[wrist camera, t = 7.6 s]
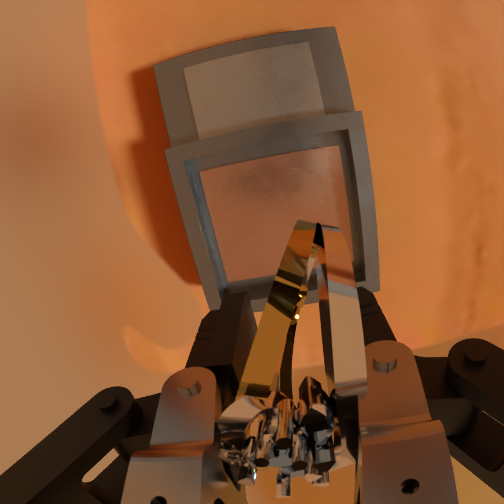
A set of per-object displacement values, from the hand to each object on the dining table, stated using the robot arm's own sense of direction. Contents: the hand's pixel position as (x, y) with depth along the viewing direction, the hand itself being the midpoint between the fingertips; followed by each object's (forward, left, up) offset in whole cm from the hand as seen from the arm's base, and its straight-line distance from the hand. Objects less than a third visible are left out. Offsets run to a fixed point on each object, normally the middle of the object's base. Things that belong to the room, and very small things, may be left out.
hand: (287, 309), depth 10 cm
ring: (0, 0, -2) cm, 2 cm away
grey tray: (-3, 0, -14) cm, 15 cm away
